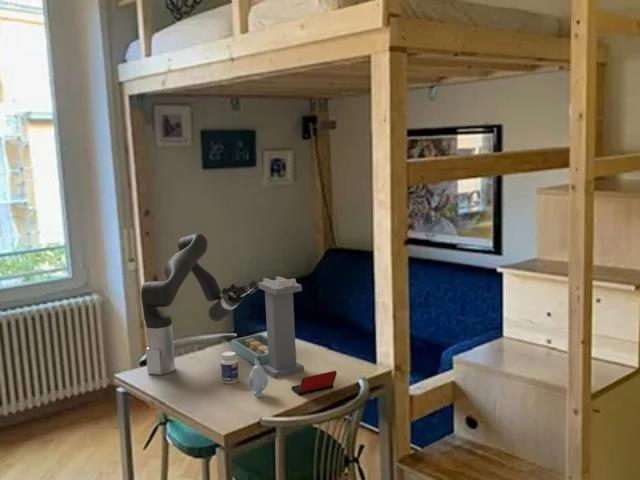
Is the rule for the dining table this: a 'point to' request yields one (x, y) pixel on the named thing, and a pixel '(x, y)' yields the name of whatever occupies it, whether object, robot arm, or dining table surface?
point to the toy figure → (258, 379)
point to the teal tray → (248, 354)
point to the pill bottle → (229, 368)
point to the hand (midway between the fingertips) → (244, 284)
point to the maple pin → (256, 346)
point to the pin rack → (280, 326)
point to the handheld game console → (315, 383)
